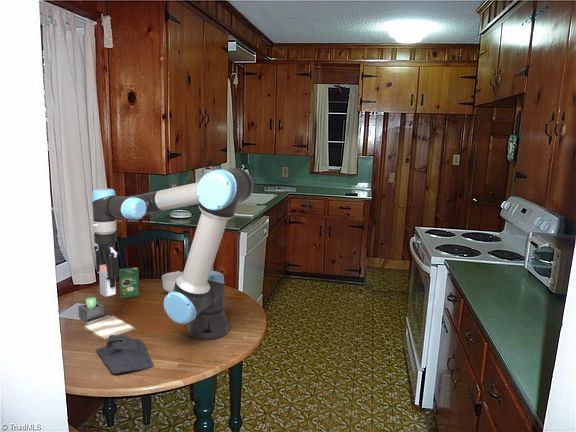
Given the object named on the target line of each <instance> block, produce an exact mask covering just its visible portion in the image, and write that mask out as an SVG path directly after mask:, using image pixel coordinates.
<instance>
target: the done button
mask: <svg viewBox="0 0 576 432" xmlns="http://www.w3.org/2000/svg"><path fill="white" fill-rule="evenodd" d="M96 302H97V298H96V296H89V297H87V298H85V304H86V307H87V308H88V309H91V308H94V307H97V306H96Z"/></svg>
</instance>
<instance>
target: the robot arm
mask: <svg viewBox="0 0 576 432" xmlns="http://www.w3.org/2000/svg"><path fill="white" fill-rule="evenodd" d="M253 190H254V180H253V178H252V176H251V174H250V173H248V172H247V171H246V170H245V169H243V168H238V167H234V168H227V169H215V170H212V171H210V172H208V173H206V174H204V175H203V176H202V177H201V178H200V180H199V181H198V182H193V183H189V184H183V185H180V186H175V187H171V188H166V189H161V190H156V191H152V192H146V193H142V194H135V195H129V196H119V195H116V192H115V190H114V189H113V188H96V189H94V190H93V191H92V194H91V195H92V196H91V198H92V199H91V205H92V218H93V220H92V221H93V224H92V227H93V231H94V233H93V237H94V238H93V241H94V244H97V245H94V246H93V249H94V253H95V269H96V272H97V273H99V271H100V265H104V264H106V268H107V274H108V278H106V279H107V297H110V296H114V295H116V294H115V280H116V279H117V278H119V255H120V252H119V251H116V250H115V246H114V244H115V243H116V242H117V241H118V238H117V235H118V233H117V229H118V228H117V218H118V219H119V218H120V219H126V220H131V221H132V220H141V219H142V218H143V217H144V216H145V215H148V214H152V213H157V212H163V211H167V210H173V209H177V208H184V207H189V206H194V205H198V208H199V210H200V212H201V214H200V216H199V220H198V223H197V227H196V230H195V232H194V236H193V239H192V243H191V246H190V249H189V252H188V255H187V259H186V263H185V266H184V270H183V271H182V272H183V275H181V276H179V277H178V278H177V279H176V282H175V286H174V289H173V291H172V292H170V293H168V292H167V293H168V294H167V295H165V297H164V300H163V308H164V312H165V313H166V315H167V317H168V318H169V319H170V320H171V321H172V322H174V323H176V324H180V325H184V324H188V325H187V333H188V335H189V336H190V337H191V338H193V339H196V340H204V341H205V340H215V339H220V338H222V337H224V336H225V335H227V334H228V332H229V330H230V329H229V328H230V327H229V326H230V324H229V321H228V319H227V315H226V313H225V277H224V274H223V273H221V272H219V271H215V270H213V271H211V269H212V266H213V267H214V263H215V260H216V256H217V253H218V251H219V247H220V245H221V240H222V238H223V234H224V232H225V229H226V226H227V224H228V223H227V222H228V220H231V219H232V218H234V217H235V213H236V211H237V208H238V204H240V203H243V202H245V201H247V200H248V199H249V198H250V197H251V195H252V194H253Z"/></svg>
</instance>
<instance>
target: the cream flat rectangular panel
mask: <svg viewBox="0 0 576 432" xmlns="http://www.w3.org/2000/svg"><path fill="white" fill-rule="evenodd" d="M80 327H81V328H82V329H84V330H85V331H87V332H88V333H90V334H92V335H93V336H94V337H97V338H99V339H100V340H101V341H102V342H105V341H108V340H109V336H110V335H117V336H118V335H124V334H127V333H130V332H132V331H136V330H137V329H138V328H137V327H135V326H134V325H132V324H130V323H128V322H127V321H124V320H123V319H121V318H119V317H117V316H116V315H114V314H113V315H110V314H109V315H105V317H102V318H99V319H95V320H92V321H89V322H85V323H83V324H82V325H80Z"/></svg>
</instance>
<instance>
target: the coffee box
mask: <svg viewBox="0 0 576 432" xmlns="http://www.w3.org/2000/svg"><path fill="white" fill-rule="evenodd" d="M118 280H119V281H118V282H119V284H118V285H119V287H118V288H119V298H120V299H127V298H133V297H139V295H140V294H139V293H140V292H139V287H140V286H139V268H138V267H126V268H118Z"/></svg>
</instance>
